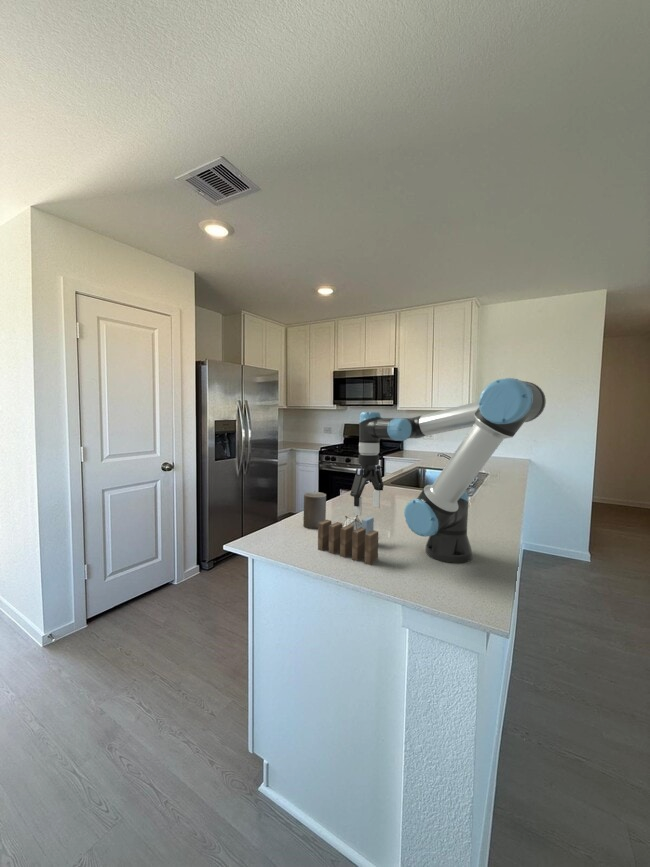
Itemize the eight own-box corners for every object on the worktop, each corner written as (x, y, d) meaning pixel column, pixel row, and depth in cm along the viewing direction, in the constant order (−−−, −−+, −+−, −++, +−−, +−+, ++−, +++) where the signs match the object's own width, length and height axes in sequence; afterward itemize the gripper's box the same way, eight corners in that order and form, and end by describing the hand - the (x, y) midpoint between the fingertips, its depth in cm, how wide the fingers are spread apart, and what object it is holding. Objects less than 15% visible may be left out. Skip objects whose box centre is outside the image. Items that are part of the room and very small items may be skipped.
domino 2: (341, 549, 128) (342, 523, 127) (333, 554, 124) (333, 526, 123) (337, 548, 129) (337, 522, 128) (328, 552, 125) (329, 525, 124)
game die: (356, 546, 141) (363, 531, 135) (336, 537, 142) (342, 522, 136) (362, 530, 148) (369, 514, 141) (343, 521, 149) (349, 506, 143)
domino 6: (377, 559, 119) (378, 531, 119) (370, 565, 115) (370, 535, 114) (372, 558, 120) (373, 530, 120) (364, 563, 116) (365, 534, 116)
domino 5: (373, 542, 135) (373, 517, 134) (366, 546, 131) (366, 520, 130) (368, 541, 136) (368, 516, 136) (361, 545, 132) (361, 519, 131)
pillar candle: (300, 528, 151) (300, 492, 150) (306, 521, 161) (307, 488, 160) (322, 530, 149) (323, 494, 148) (328, 523, 158) (328, 489, 157)
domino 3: (353, 552, 125) (353, 525, 124) (345, 557, 121) (345, 529, 120) (348, 551, 126) (348, 524, 126) (340, 556, 122) (340, 528, 121)
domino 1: (330, 546, 131) (331, 520, 130) (322, 550, 126) (322, 524, 126) (326, 545, 132) (326, 519, 131) (317, 549, 128) (318, 522, 127)
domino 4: (365, 556, 122) (365, 528, 121) (357, 561, 118) (357, 532, 117) (360, 554, 123) (360, 527, 123) (352, 559, 119) (352, 531, 119)
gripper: (376, 450, 144) (374, 502, 145) (341, 456, 124) (339, 516, 125) (393, 451, 139) (391, 505, 141) (359, 458, 119) (358, 520, 121)
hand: (367, 510), depth 133 cm, fingers open, 13 cm apart
